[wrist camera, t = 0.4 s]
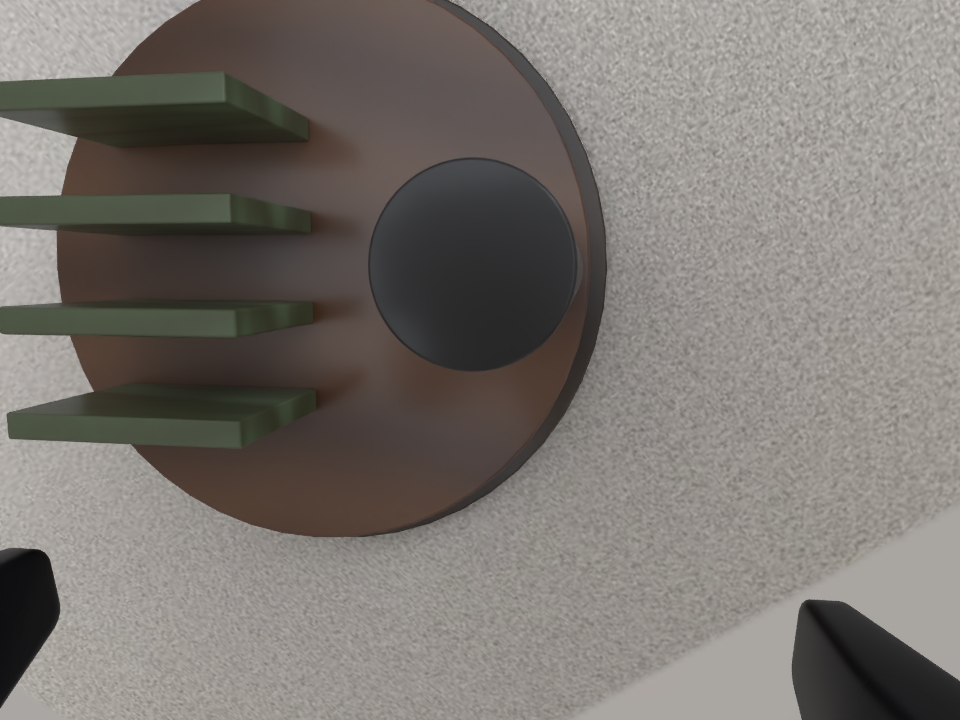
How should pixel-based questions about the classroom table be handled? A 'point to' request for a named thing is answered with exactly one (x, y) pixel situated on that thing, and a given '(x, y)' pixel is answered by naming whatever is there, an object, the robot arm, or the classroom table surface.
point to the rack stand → (596, 264)
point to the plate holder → (309, 259)
